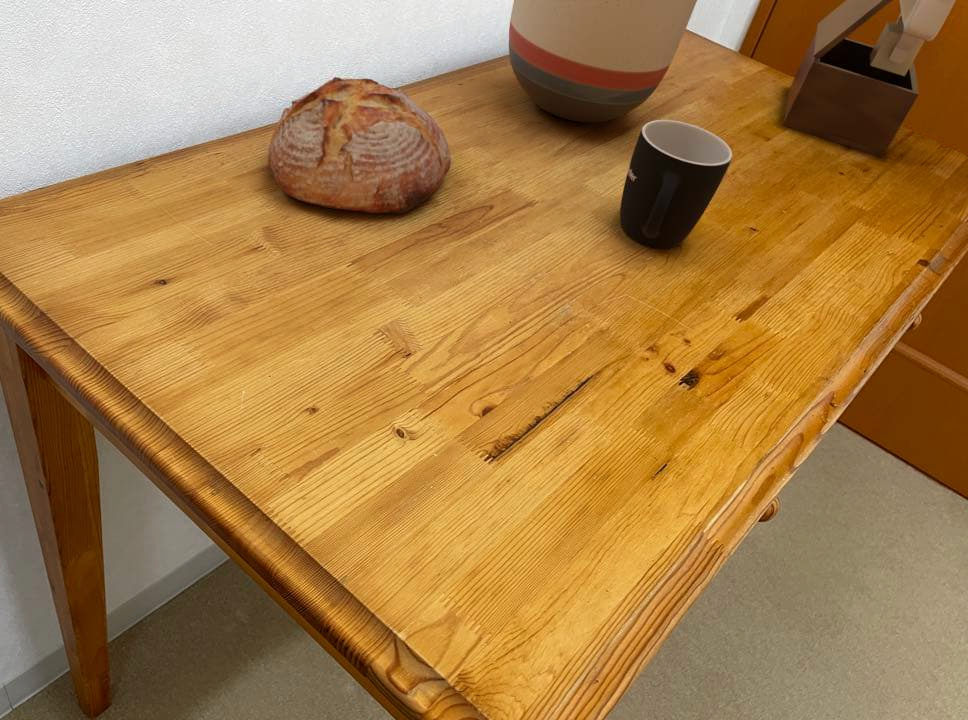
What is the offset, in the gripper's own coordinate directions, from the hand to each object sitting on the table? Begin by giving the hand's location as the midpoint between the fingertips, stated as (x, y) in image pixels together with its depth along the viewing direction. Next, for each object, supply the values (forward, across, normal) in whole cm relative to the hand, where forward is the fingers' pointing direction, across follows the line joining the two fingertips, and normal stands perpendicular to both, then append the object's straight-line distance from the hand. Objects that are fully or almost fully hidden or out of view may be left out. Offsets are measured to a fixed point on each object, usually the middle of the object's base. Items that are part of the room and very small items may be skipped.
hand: (893, 54), depth 113 cm
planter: (+11, -26, +36) cm, 46 cm away
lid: (-5, 0, +6) cm, 8 cm away
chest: (+10, 0, +3) cm, 11 cm away
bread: (+11, -59, +50) cm, 78 cm away
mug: (+11, -51, +21) cm, 56 cm away
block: (+2, 0, 0) cm, 2 cm away
